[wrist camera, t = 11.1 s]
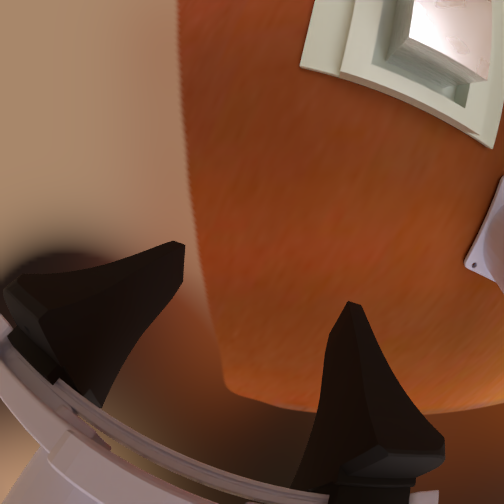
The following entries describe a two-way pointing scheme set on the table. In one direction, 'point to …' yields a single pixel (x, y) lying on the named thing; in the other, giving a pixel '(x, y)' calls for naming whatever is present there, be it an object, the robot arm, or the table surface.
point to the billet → (442, 40)
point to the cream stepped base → (397, 79)
